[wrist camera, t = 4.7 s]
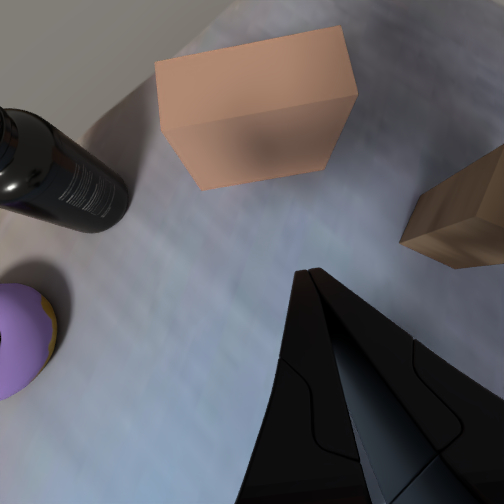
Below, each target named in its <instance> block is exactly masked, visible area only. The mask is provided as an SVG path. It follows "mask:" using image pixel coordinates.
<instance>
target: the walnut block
mask: <svg viewBox="0 0 504 504" xmlns="http://www.w3.org/2000/svg"><path fill="white" fill-rule="evenodd" d="M399 244H401V245H403V246H406V247H408V248H410V249H412V250H414V251H417V252H419V253H421V254H423V255H425V256H428V257H430V258H432V259H434V260H436V261H438V262H441V263H443V264H445V265H447V266H449V267H452V268H454V269H460V268H469V267H477V266H486V265H495V264H504V144H503V145H501V146H499V147H498V148H496V149H495V150H493V151H491V152H490V153H488V154H487V155H485V156H483V157H482V158H480V159H479V160H477V161H475V162H474V163H472V164H471V165H469V166H467V167H466V168H464V169H462V170H461V171H459V172H458V173H456V174H454V175H453V176H451V177H450V178H448V179H446V180H445V181H443V182H442V183H440V184H438V185H437V186H435V187H434V188H432V189H430V190H429V191H427V192H425V193H424V194H422V195H421V196H420V198H419V200H418V202H417V205H416V207H415V209H414V211H413V214H412V216H411V218H410V220H409V222H408V225H407V227H406V229H405V231H404V234H403V236H402V238H401V240H400V242H399Z"/></svg>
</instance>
